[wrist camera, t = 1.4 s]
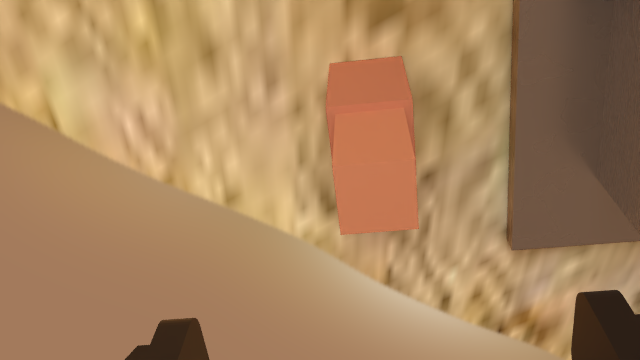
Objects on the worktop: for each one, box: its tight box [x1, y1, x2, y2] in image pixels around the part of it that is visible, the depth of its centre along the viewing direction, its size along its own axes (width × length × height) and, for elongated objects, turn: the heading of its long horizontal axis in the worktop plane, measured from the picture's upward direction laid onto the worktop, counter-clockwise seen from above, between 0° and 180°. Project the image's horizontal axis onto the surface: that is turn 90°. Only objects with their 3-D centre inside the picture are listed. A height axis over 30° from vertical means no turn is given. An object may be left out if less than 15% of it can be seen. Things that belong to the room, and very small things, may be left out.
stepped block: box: [326, 56, 419, 235], centre depth 22 cm, size 3×3×9 cm
